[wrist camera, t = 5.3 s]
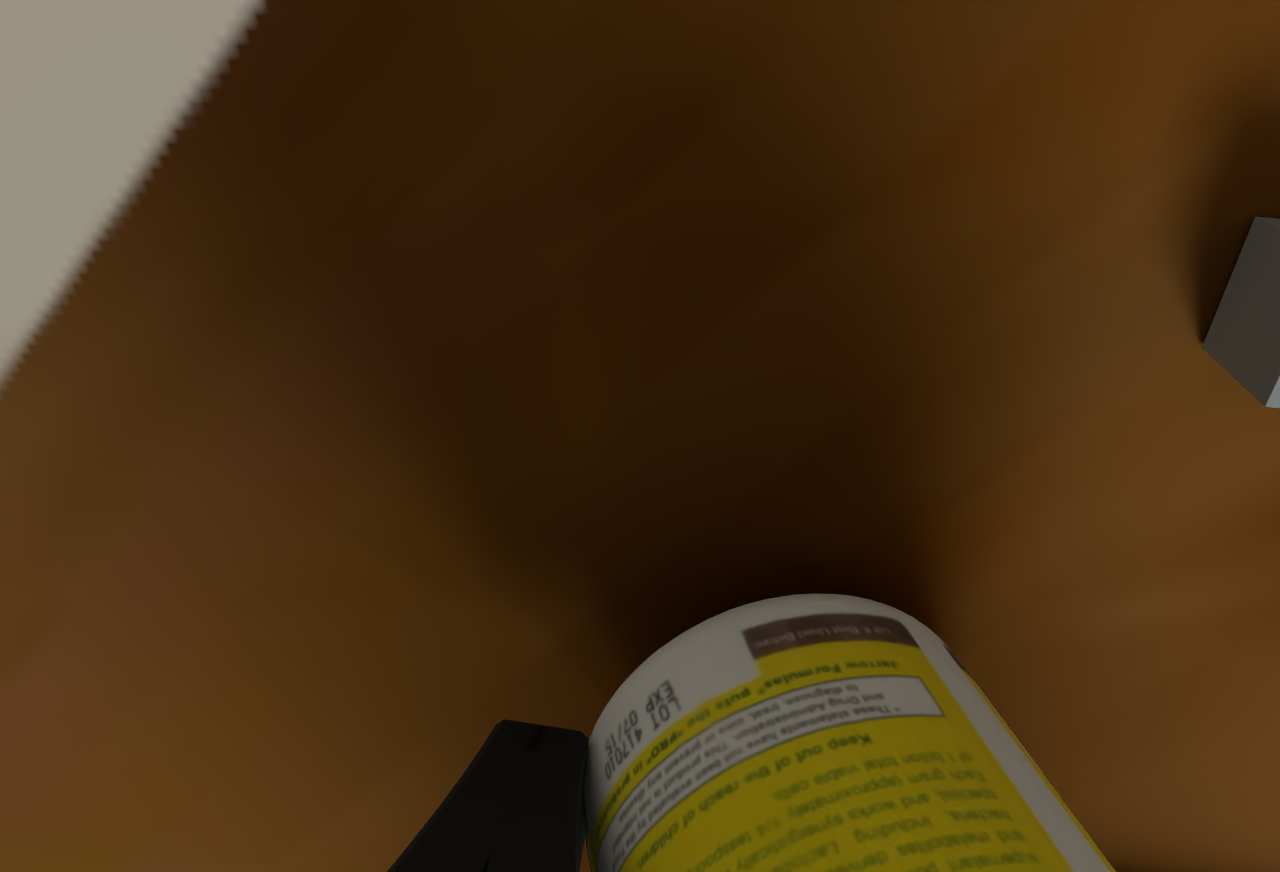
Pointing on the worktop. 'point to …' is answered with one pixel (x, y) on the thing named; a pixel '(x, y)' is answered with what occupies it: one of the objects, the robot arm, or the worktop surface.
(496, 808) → the robot arm
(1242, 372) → the bay
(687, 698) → the supplement bottle
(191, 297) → the worktop surface
